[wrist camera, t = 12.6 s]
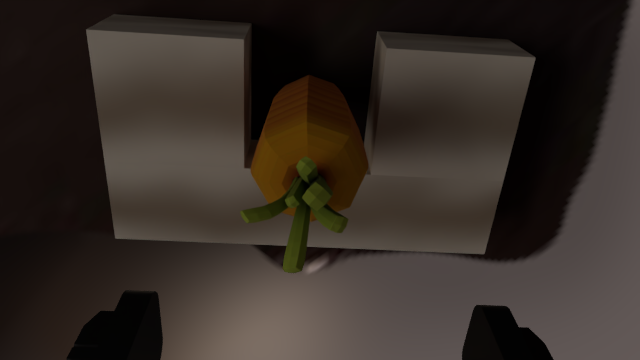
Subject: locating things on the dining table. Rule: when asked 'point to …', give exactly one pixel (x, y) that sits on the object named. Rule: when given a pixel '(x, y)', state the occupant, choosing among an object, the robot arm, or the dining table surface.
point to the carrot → (307, 162)
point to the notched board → (238, 149)
